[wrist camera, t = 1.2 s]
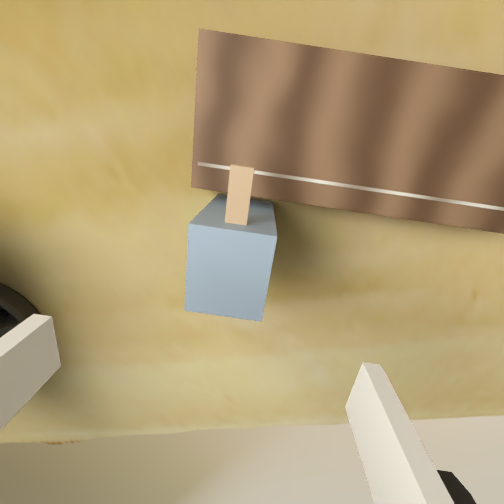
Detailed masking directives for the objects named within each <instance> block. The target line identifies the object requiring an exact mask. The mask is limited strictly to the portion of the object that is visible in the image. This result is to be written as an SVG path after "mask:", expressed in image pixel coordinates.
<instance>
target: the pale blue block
mask: <svg viewBox="0 0 504 504" xmlns="http://www.w3.org/2000/svg"><path fill="white" fill-rule="evenodd" d="M254 169H255V167H250V166H244V165H237V164H231V165H230V174H229V184H228V193H227V195H223V194H218V195H217V196H216V197H215V198H214V199H213V200H212V201H211V202H210V203H209V204H208V205H207V206H206V207H205V208H204V209H203V210H202V211H201V212H200V213H199V214H198V215H197V216H196V217H195V218H194V219H193V220H192V221H191V222H190V223H189V228H188V249H187V270H186V291H185V311H191V312H197V313H204V314H211V315H218V316H225V317H232V318H239V319H246V320H253V321H260V322H262V317H263V312H264V306H265V301H266V296H267V290H268V285H269V279H270V274H271V269H272V263H273V258H274V252H275V247H276V242H277V230H276V223H275V215H274V208H273V202H270V201H263V200H256V199H251V191H252V184H253V177H254Z"/></svg>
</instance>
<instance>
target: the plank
mask: <svg viewBox="0 0 504 504" xmlns="http://www.w3.org/2000/svg"><path fill="white" fill-rule="evenodd" d="M231 164H237V165H244V166H250V167H255V169H254V177H253V184H252V191H251V196H254V197H261V198H267V199H274V200H281V201H288V202H294V203H301V204H308V205H315V206H321V207H328V208H335V209H342V210H348V211H355V212H362V213H369V214H375V215H382V216H389V217H396V218H402V219H409V220H416V221H423V222H429V223H436V224H443V225H450V226H456V227H463V228H470V229H477V230H483V231H490V232H497V233H504V75H499V74H492V73H486V72H479V71H473V70H466V69H460V68H453V67H447V66H440V65H434V64H427V63H421V62H414V61H407V60H401V59H394V58H388V57H381V56H375V55H368V54H362V53H355V52H349V51H342V50H336V49H329V48H323V47H316V46H310V45H303V44H296V43H290V42H283V41H277V40H270V39H264V38H257V37H251V36H244V35H238V34H231V33H225V32H218V31H212V30H205V29H199V37H198V58H197V78H196V99H195V119H194V140H193V160H192V181H191V187H193V188H200V189H207V190H213V191H220V192H227V193H228V184H229V174H230V165H231Z"/></svg>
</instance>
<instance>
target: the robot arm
mask: <svg viewBox="0 0 504 504" xmlns="http://www.w3.org/2000/svg"><path fill="white" fill-rule="evenodd" d="M60 367H61V363H60V357H59V352H58V346H57V341H56V335H55V330H54V324H53V319H52V316H46V315H39V313H38V312H37V311H36V309H35V308H34V307H33V306H32V305H31V304H30V303H29V302H28V301H27V300H26V299H25V298H23V297H22V296H21V295H19V294H18V293H17V292H15V291H13V290H12V289H10V288H8V287H6V286H4V285H2V284H0V431H1V430H2V429H3V428H4V427H5V425H6V424H7V423H8V422H9V421H10V420H11V419H12V418H13V417H14V416H15V415H16V414H17V413H18V412H19V411H20V409H21V408H22V407H23V406H24V405H25V404H26V403H27V402H28V401H29V400H30V399H31V398H32V397H33V396H34V395H35V393H36V392H37V391H38V390H39V389H40V388H41V387H42V386H43V385H44V384H45V383H46V382H47V381H48V380H49V379H50V377H51V376H52V375H53V374H54V373H55V372H56V371H57V370H58V369H59V368H60ZM345 409H346V413H347V416H348V419H349V423H350V426H351V429H352V432H353V436H354V439H355V442H356V446H357V449H358V452H359V455H360V459H361V462H362V465H363V468H364V472H365V475H366V479H367V482H368V485H369V488H370V492H371V495H372V498H373V502H374V504H476V503H475V501H474V499H473V497H472V496H471V494H470V493H469V492H468V490H467V489H465V487H464V486H463V485H462V484H461V482H460V481H459V480H458V479H457V478H456V477H455V476H454V474H453V473H452V472H447V471H440V470H436V468H435V466H434V464H433V463H432V460H431V458H430V457H429V455H428V453H427V451H426V449H425V447H424V445H423V443H422V441H421V440H420V438H419V436H418V434H417V432H416V430H415V428H414V426H413V425H412V423H411V421H410V419H409V417H408V415H407V413H406V411H405V409H404V407H403V406H402V404H401V402H400V400H399V398H398V396H397V394H396V392H395V390H394V389H393V387H392V385H391V383H390V381H389V379H388V377H387V375H386V373H385V372H384V370H383V368H382V366H381V365H380V364H373V363H366V362H363V363H362V365H361V368H360V370H359V373H358V376H357V378H356V381H355V383H354V386H353V388H352V391H351V393H350V396H349V398H348V401H347V403H346V406H345Z"/></svg>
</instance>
